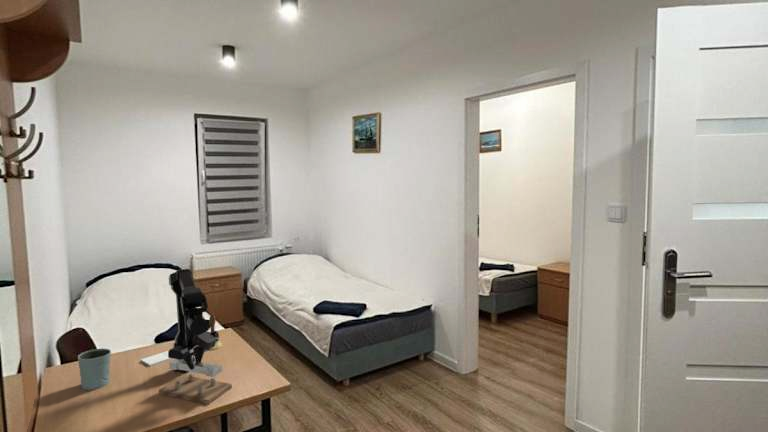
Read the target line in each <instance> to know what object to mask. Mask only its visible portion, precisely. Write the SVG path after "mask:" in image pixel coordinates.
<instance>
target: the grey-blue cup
mask: <svg viewBox="0 0 768 432" xmlns="http://www.w3.org/2000/svg"><path fill="white" fill-rule="evenodd" d="M111 354H112V350H110V349H109V348H96V349H90V350H87V351H84V352H81V353H80V354H78V355H77V362H78V369H79V376H80V383H81V385H80V386H81V389H82V390H84V391H93V390H97V389H100V388H103V387H106V386H107V385H108V384H109V382H110V372H111V370H110V368H111V366H110V364H111V358H112V357H111Z"/></svg>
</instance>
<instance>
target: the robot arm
mask: <svg viewBox="0 0 768 432" xmlns="http://www.w3.org/2000/svg"><path fill="white" fill-rule="evenodd" d="M168 284H169V286H170V289H171V291H172V292H173V293H174V294H175V298H176V300H175V301H176V314H177V315H176V316H177V329H178V331H177V333H176V334H175V337H174V343H173V345H172V348H170V349H169V350H167V351H168V358H174V359H179V360H181V359H184V360H185V362H186V363H187V365H188V367H189V368H190V369H191V370H193V367H194V361H196V362H202V361H203V357H204V354H205V351H210V350H209V349H210V348H212V347H214V346H215V343H216V342H217V341H220V339H219V338H220V335H219V332H218V331H217V330H215V331H214V332H211V331H207V330H208V327H209V323H208V321H207V319H206V318H205V317H204V316H203V313H206V312H208V308H209V307H208V306H209V305H208V300H207V296H206V295H205V293H204V292H203V291H202V289H201V288H200V287H197V286H196V284H195V282H194V272H193V271H192V270H191V269H190V268H184V269H178V270H176V271H175V272H173V273H170V275H169V276H168ZM174 359H173V360H174ZM173 371H175V372H180V373H185V374H186V373H189V371H185V370H179V369H177V370H173Z"/></svg>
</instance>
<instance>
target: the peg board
mask: <svg viewBox="0 0 768 432" xmlns="http://www.w3.org/2000/svg"><path fill="white" fill-rule="evenodd" d="M232 385H233V384H232V383H227V382H223V381H217V380H216V377H215V376H214V377H211V378H210V379H208V378H203V377H196V376H194V372H191V373H189V374H188V375H185V374H184V375H182V376H180V377H179V378H176V379H175V380H173V381H171V382H170V383H167V384H166V385H165V386H163V387H162V388H159V389H158V394H159V395H161V396H168V397H172V398H176V399H177V398H178V399H182V400H187V401H192V402H195V403H201V404H205V405H210V404H211V403H213V402H214V401H216V400H217V399H219V398H220V397H221V396H222V395H224V394H225V393H227V392H228V391H229V390H231V389H232V388H233V387H232Z"/></svg>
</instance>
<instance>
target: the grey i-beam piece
mask: <svg viewBox="0 0 768 432" xmlns="http://www.w3.org/2000/svg"><path fill="white" fill-rule="evenodd" d="M168 367H169V368H168V369H169V370H173V371H174V370H177V369H179V370H185V371H188V372H191V373H196V374H200V375H201V374H202V375H205V376H206V377H211V378H213V377H215V376H218V375H219V374H220V373H222V372H223V369H222V368H223V366H222V364H218V363H214V364H213V363H207V362H202V361H201V362H196V361H194V367H193V370H191V369H190V368H189V367H188V365H187V363H186V362H185V360H184V359H181V360H179V359H171V360H169V361H168Z"/></svg>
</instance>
